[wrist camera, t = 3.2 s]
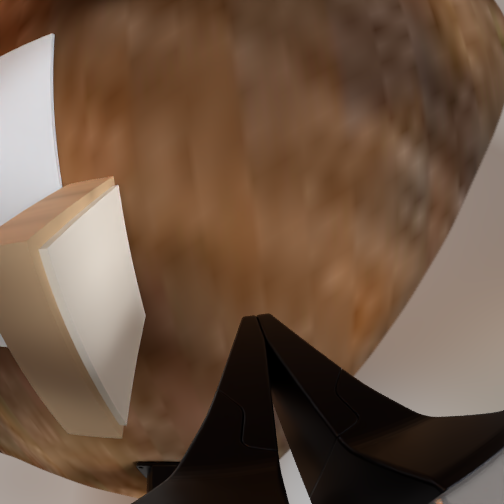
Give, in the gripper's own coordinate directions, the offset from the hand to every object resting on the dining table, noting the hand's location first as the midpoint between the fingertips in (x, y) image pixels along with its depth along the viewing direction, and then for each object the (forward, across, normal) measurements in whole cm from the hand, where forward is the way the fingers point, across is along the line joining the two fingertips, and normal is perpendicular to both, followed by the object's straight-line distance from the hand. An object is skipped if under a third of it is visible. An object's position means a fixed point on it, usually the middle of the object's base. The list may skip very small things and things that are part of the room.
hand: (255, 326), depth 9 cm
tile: (+7, +7, 0) cm, 9 cm away
